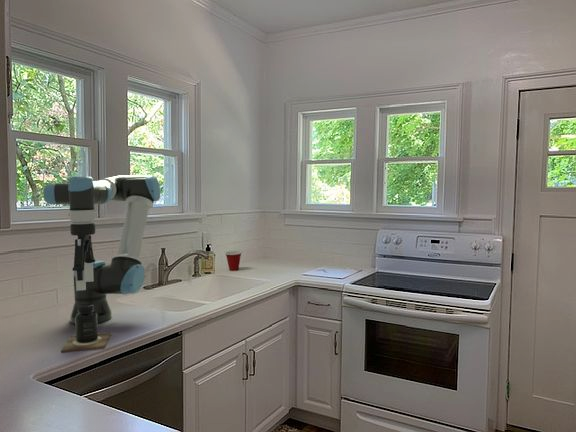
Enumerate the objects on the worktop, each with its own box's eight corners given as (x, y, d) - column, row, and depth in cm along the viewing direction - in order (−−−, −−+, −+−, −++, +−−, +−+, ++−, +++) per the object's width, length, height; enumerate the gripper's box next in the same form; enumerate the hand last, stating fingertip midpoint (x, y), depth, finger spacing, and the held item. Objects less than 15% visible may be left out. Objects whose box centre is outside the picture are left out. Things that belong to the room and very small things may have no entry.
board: (71, 338, 154) (71, 335, 154) (110, 334, 157) (110, 332, 157) (61, 352, 140) (60, 349, 140) (104, 348, 143) (104, 345, 143)
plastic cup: (222, 271, 280) (221, 252, 279) (229, 268, 290) (229, 250, 290) (237, 272, 277) (237, 253, 276) (244, 269, 287) (244, 251, 286)
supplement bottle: (101, 336, 152) (100, 302, 151) (93, 343, 145) (92, 307, 145) (81, 336, 152) (80, 302, 151) (72, 343, 145) (70, 307, 144)
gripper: (78, 220, 157) (81, 279, 159) (60, 226, 133) (63, 295, 135) (101, 220, 159) (103, 277, 161) (87, 225, 135) (90, 293, 136)
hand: (85, 285), depth 148 cm, fingers open, 13 cm apart
